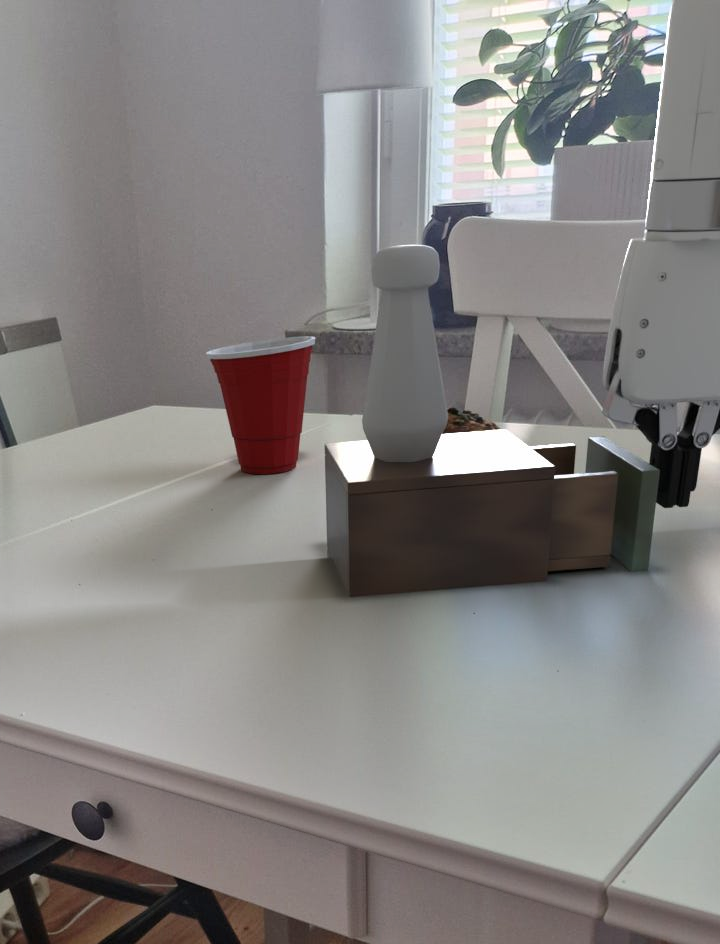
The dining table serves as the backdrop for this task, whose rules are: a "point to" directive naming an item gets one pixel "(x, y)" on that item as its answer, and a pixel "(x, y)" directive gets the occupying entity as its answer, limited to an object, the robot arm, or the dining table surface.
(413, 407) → the salt shaker
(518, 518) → the cabinet
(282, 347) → the plastic cup
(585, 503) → the drawer
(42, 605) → the dining table surface
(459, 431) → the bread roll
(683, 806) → the dining table surface
